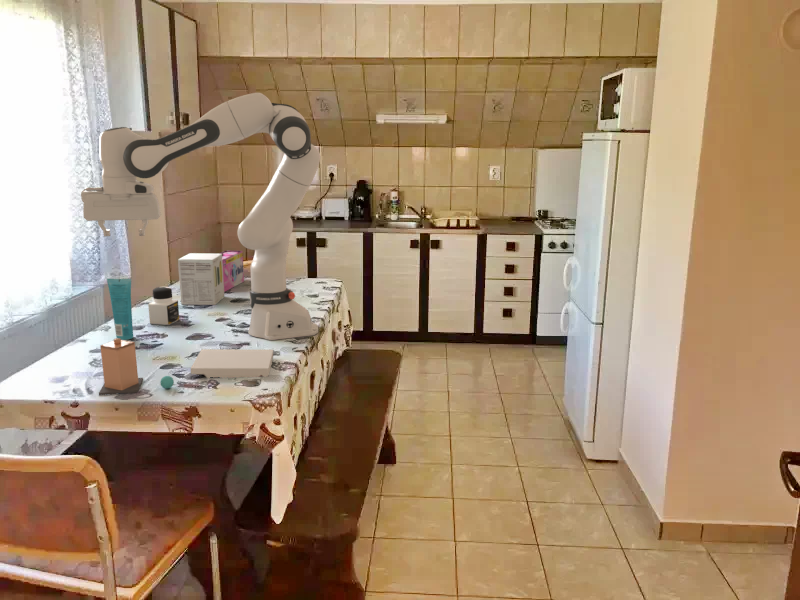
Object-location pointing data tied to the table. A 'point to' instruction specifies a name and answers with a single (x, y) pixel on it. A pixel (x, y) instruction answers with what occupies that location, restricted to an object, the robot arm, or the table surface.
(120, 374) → the tan box with knob
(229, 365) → the cream flat block
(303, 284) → the table surface
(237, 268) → the gum box
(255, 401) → the table surface
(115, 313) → the tube
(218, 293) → the supplement box
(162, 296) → the medicine bottle
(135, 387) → the mat
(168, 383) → the ball
